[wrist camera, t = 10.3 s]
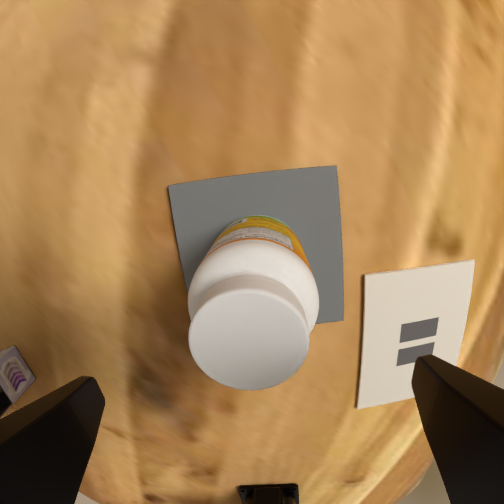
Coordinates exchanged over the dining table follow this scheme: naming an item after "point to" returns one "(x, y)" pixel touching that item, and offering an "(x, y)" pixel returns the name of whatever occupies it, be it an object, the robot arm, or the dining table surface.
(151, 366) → the dining table surface
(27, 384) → the cake pan box
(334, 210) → the slate mat
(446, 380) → the robot arm
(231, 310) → the supplement bottle
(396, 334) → the tile
